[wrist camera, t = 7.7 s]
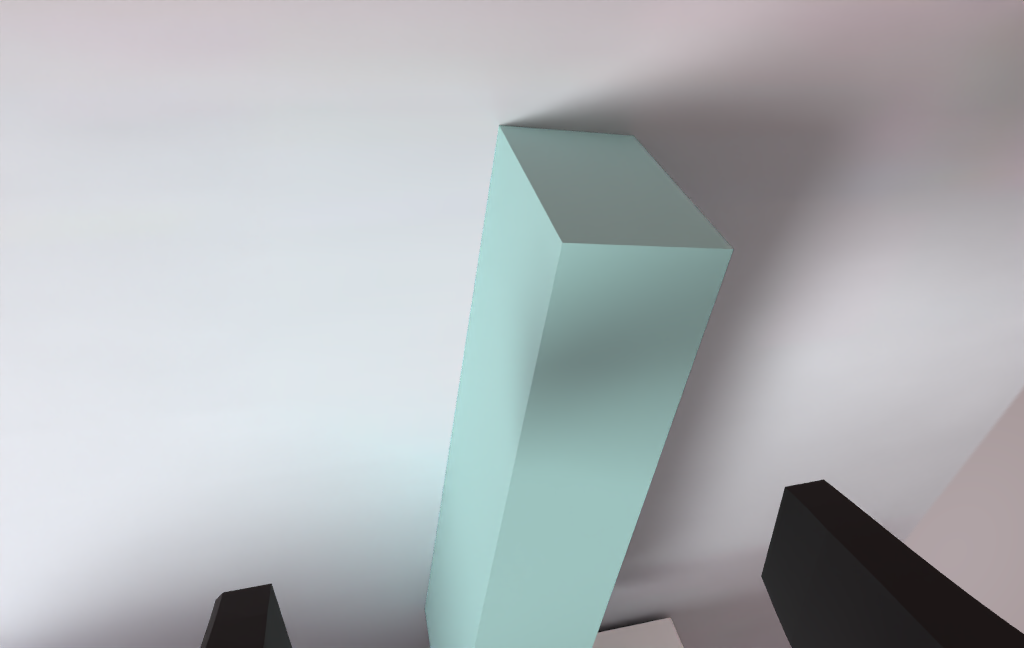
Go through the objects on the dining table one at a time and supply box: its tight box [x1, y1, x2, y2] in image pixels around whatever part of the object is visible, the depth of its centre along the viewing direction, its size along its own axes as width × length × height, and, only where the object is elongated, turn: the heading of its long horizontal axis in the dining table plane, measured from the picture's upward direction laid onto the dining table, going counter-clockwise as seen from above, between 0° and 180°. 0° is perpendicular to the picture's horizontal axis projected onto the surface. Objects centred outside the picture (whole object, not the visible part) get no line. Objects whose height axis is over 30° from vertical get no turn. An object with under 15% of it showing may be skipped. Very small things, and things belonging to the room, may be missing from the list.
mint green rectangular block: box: [425, 125, 734, 648], centre depth 19 cm, size 16×3×5 cm, turn 171°
